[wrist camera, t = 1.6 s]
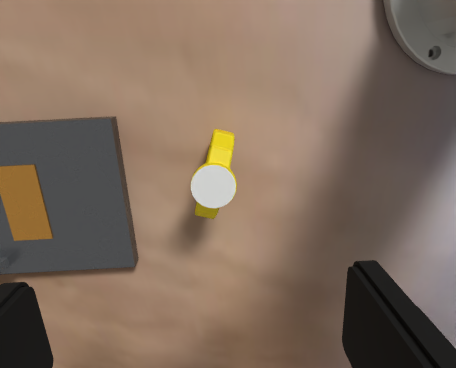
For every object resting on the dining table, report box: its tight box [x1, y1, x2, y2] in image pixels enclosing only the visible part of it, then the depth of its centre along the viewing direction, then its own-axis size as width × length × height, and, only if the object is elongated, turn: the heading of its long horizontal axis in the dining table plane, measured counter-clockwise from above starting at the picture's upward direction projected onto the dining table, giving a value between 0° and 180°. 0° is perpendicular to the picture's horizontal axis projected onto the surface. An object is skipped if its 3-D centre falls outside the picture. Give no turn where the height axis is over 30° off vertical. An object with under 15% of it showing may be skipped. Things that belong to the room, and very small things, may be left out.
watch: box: [191, 129, 237, 219], centre depth 22 cm, size 6×3×6 cm, turn 166°
